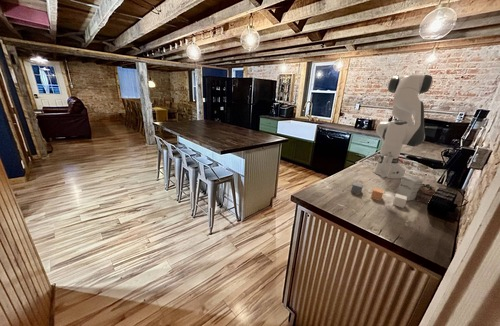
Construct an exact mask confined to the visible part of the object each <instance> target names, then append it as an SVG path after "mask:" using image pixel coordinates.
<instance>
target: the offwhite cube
mask: <svg viewBox="0 0 500 326" xmlns="http://www.w3.org/2000/svg"><path fill="white" fill-rule="evenodd" d="M407 201H408V200H407V196H403V195H400V194H397V193H395V195H394V199H393V203H392V205H394V206H397V207H399V208H403V209H404V208H405V206H406V203H407Z"/></svg>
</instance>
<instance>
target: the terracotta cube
mask: <svg viewBox="0 0 500 326" xmlns="http://www.w3.org/2000/svg"><path fill="white" fill-rule="evenodd" d="M384 192H385V191H384V189H381V188H377V187H373V189H372V192H371V196H370V199H373V200H377V201H378V202H379V201H382V198H383V196H384Z"/></svg>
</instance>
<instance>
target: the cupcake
mask: <svg viewBox="0 0 500 326" xmlns="http://www.w3.org/2000/svg"><path fill="white" fill-rule="evenodd" d="M436 190H437V189H436V187H435V186H432V185H431V184H429V183H428V184H426V183H422V185H421V187H420V189H419V190H418V191H417V196H416V199H415V201H417V202H420V203H423V204H429V203H428V202H429V200H430V199H431V197H432V195H433V194H434V193H435V192H436V193H437V191H436Z"/></svg>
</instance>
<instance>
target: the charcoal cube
mask: <svg viewBox="0 0 500 326" xmlns="http://www.w3.org/2000/svg"><path fill="white" fill-rule="evenodd" d="M363 186H364V184H363V183H359V182H356V181H354V182H353V184H352V186H351V190H350V192H351V193H353V194H357V195H359V196H360V195H361V193H362V189H363Z"/></svg>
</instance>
